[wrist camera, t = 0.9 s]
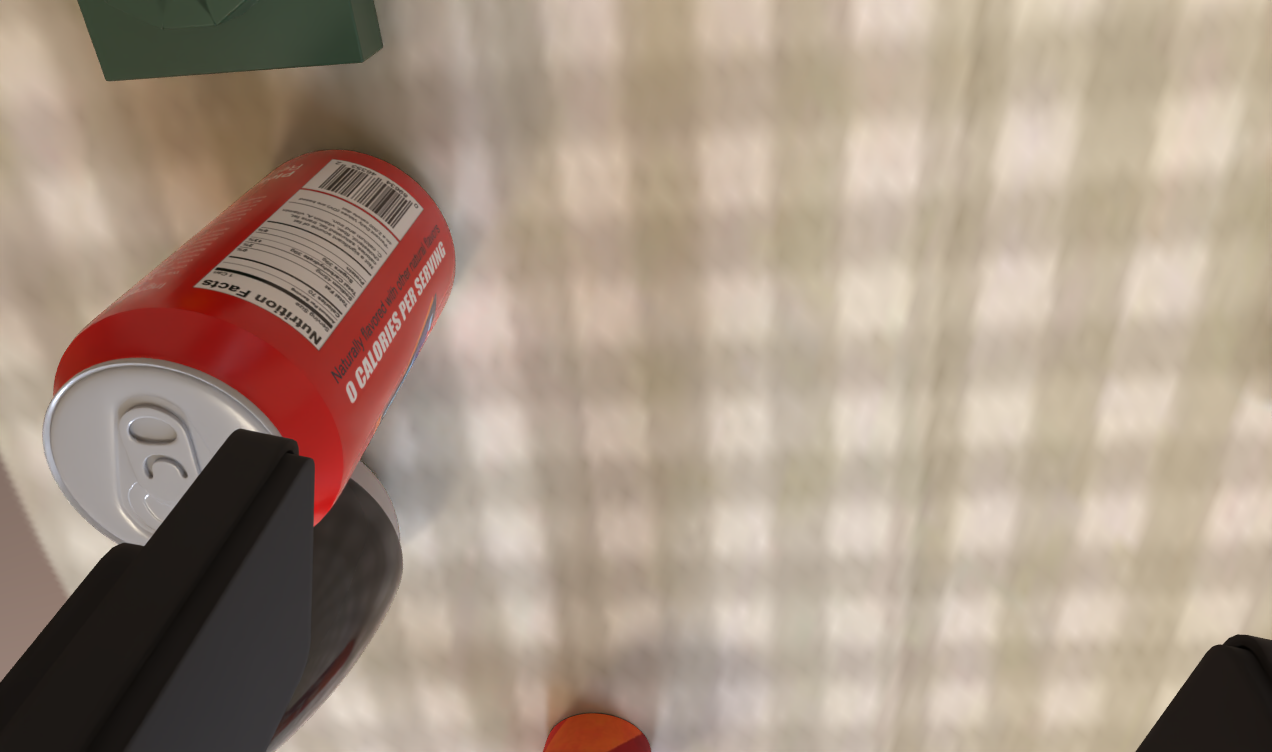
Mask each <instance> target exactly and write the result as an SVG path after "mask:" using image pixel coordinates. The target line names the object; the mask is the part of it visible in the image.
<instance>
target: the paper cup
mask: <svg viewBox="0 0 1272 752" xmlns="http://www.w3.org/2000/svg"><path fill="white" fill-rule="evenodd" d="M543 752H651V749H650V745H649V742H648V740H647V738H646V737H645V735H644V734H643V733H642V732H641V731H640V730H639V729H638V728H637V727H635V726H634V725H632V724H631V723H629V722H627V721H625V720H623V719H620V718H618V717H615V716H611V715H606V714H598V713H588V714H580V715H575V716H572V717H569V718H567V719H565V720H563V721H561V722H560V723H558V724H557V725H556V726H555V727H554V728H553V729H552V730H551V732H550V734H549V736H548V738H547V741H546V744H545V747H544V750H543Z"/></svg>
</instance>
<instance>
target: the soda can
mask: <svg viewBox="0 0 1272 752" xmlns="http://www.w3.org/2000/svg"><path fill="white" fill-rule="evenodd" d="M454 276H455V250H454V244H453V240H452V236H451V233H450V230H449V228H448V225H447V223H446V221H445V219H444V217H443V215H442V213H441V211H440V210H439V208H438V207H437V205H436V204H435V202H434V201H433V200H432V198H431V197H430V196H429V195H428V194H427V192H426V191H425V190H424V189H423V188H422V187H421V186H420V185H419V184H418V183H417V182H415V181H414V180H413V179H412V178H411V177H410V176H408V175H407V174H405V173H404V172H403V171H401V170H400V169H398V168H396V167H395V166H393V165H391V164H389V163H387V162H385V161H383V160H381V159H379V158H376V157H373V156H370V155H367V154H364V153H360V152H355V151H349V150H334V149H332V150H320V151H314V152H310V153H306V154H303V155H300V156H298V157H296V158H293V159H291V160H289V161H287V162H285V163H284V164H282V165H280V166H279V167H278V168H276V169H275V170H274V171H272V172H271V173H270V174H268V175H267V176H266V177H265V178H263V179H262V180H261V181H260V182H259V183H257V184H256V185H255V186H254V187H253V188H251V189H250V190H249V191H248V192H246V193H245V194H244V195H243V196H242V197H240V198H239V199H238V200H237V201H236V202H234V203H233V204H232V205H231V206H230V207H228V208H227V209H226V210H225V211H224V212H222V213H221V214H220V215H219V216H218V217H216V218H215V219H214V220H213V221H212V222H210V223H209V224H208V225H207V226H205V227H204V228H203V229H202V230H201V231H199V232H198V233H197V234H196V235H195V236H193V237H192V238H191V239H190V240H189V241H187V242H186V243H185V244H184V245H183V246H181V247H180V248H179V249H178V250H177V251H175V252H174V253H173V254H172V255H171V256H169V257H168V258H167V259H166V260H164V261H163V262H162V263H161V264H160V265H158V266H157V267H156V268H155V269H154V270H152V271H151V272H150V273H149V274H148V275H146V276H145V277H144V278H143V279H142V280H140V281H139V282H138V283H137V284H136V285H134V286H133V287H132V288H131V289H130V290H128V291H127V292H126V293H125V294H123V295H122V296H121V297H120V298H119V299H117V300H116V301H115V302H114V303H113V304H111V305H110V306H109V307H108V308H107V309H105V310H104V311H103V312H102V313H101V314H99V315H98V316H97V317H96V318H95V319H94V320H93V321H91V322H90V323H89V324H88V325H87V326H86V327H85V328H84V329H83V330H82V331H81V332H79V334H78V335H77V336H76V337H75V338H74V340H73V341H72V342H71V344H70V345H69V347H68V348H67V350H66V351H65V353H64V355H63V356H62V358H61V361H60V363H59V365H58V368H57V372H56V376H55V381H54V393H53V398H52V400H51V402H50V404H49V406H48V408H47V411H46V414H45V418H44V423H43V434H42V437H43V447H44V453H45V457H46V460H47V463H48V466H49V469H50V471H51V474H52V476H53V478H54V480H55V482H56V484H57V485H58V487H59V489H60V490H61V492H62V493H63V495H64V496H65V497H66V499H67V500H68V501H69V503H70V504H71V505H72V506H73V507H74V509H75V510H76V511H77V512H78V513H79V514H80V515H81V516H82V517H83V518H84V519H85V520H86V521H87V522H88V523H89V524H91V525H92V526H93V527H94V528H95V529H97V530H98V531H99V532H101V533H102V534H103V535H105V536H106V537H108V538H109V539H111V540H112V541H114V542H115V543H117V544H121V543H123V542H124V543H131V544H137V545H142V546H145V544H146V543H147V542H148V540H149V539H150V538H151V537H152V535H153V534H154V533H155V531H156V530H157V529H158V527H159V526H160V525H161V524H162V522H163V521H164V520H165V518H166V517H167V516H168V515H169V513H170V512H171V511H172V509H173V508H174V507H175V505H176V504H177V503H178V502H179V500H180V499H181V498H182V496H183V495H184V494H185V492H186V491H187V490H188V489H189V487H190V486H191V485H192V483H193V482H194V481H195V480H196V478H197V477H198V476H199V474H200V473H201V472H202V470H203V469H204V468H205V467H206V465H207V464H208V463H209V461H210V460H211V459H212V457H213V456H214V455H215V454H216V452H217V451H218V450H219V448H220V447H221V446H222V445H223V443H224V442H225V441H226V439H227V438H228V437H229V436H230V435H231V434H232V433H233V432H234V431H235V430H237V429H240V428H241V429H246V430H251V431H255V432H260V433H265V434H270V435H275V436H280V437H285V438H290V439H294V440H295V441H297V444H298V447H299V455H300V456H305V457H310V458H312V459H313V460H314V463H315V490H314V526H315V525H316V524H317V523H319V522H320V521H321V520H322V518H323V517H324V516H325V515H326V514H327V513H328V512H329V511H330V510H331V508H332V507H333V505H334V504H335V502H336V501H337V499H338V498H339V496H340V494H341V493H342V491H343V489H344V488H345V486H346V484H347V482H348V480H349V478H350V477H351V475H352V473H353V471H354V469H355V468H356V466H357V464H358V462H359V460H360V459H361V457H362V455H363V453H364V451H365V450H366V448H367V446H368V444H369V442H370V441H371V439H372V437H373V435H374V433H375V432H376V430H377V428H378V426H379V424H380V422H381V421H382V419H383V417H384V415H385V413H386V412H387V410H388V408H389V406H390V404H391V403H392V401H393V399H394V397H395V395H396V394H397V392H398V390H399V388H400V386H401V385H402V383H403V381H404V379H405V377H406V376H407V374H408V372H409V370H410V368H411V366H412V365H413V363H414V361H415V359H416V357H417V356H418V354H419V352H420V350H421V348H422V347H423V345H424V343H425V341H426V339H427V338H428V336H429V334H430V332H431V330H432V329H433V327H434V325H435V323H436V321H437V319H438V318H439V316H440V314H441V312H442V310H443V308H444V306H445V304H446V302H447V300H448V298H449V295H450V292H451V289H452V285H453V281H454Z"/></svg>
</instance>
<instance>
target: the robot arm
mask: <svg viewBox="0 0 1272 752" xmlns="http://www.w3.org/2000/svg"><path fill="white" fill-rule="evenodd" d="M314 490H315V463H314V460H313V459H312V458H310V457H305V456H300V455H299V447H298V444H297V441H295V440H294V439H290V438H285V437H280V436H275V435H270V434H265V433H260V432H255V431H251V430H246V429H241V428H240V429H237V430H235V431H234V432H233V433H232V434H231V435H230V436H229V437H228V438H227V439H226V441H225V442H224V443H223V445H222V446H221V447H220V448H219V450H218V451H217V452H216V454H215V455H214V456H213V457H212V459H211V460H210V461H209V463H208V464H207V465H206V467H205V468H204V469H203V470H202V472H201V473H200V474H199V476H198V477H197V478H196V480H195V481H194V482H193V483H192V485H191V486H190V487H189V489H188V490H187V491H186V492H185V494H184V495H183V496H182V498H181V499H180V500H179V502H178V503H177V504H176V505H175V507H174V508H173V509H172V511H171V512H170V513H169V515H168V516H167V517H166V518H165V520H164V521H163V522H162V524H161V525H160V526H159V527H158V529H157V530H156V531H155V533H154V534H153V535H152V537H151V538H150V539H149V540H148V542H147V543H146V544H145V546H142V545H137V544H131V543H124V542H123V543H121V544H119V545H117V546H115V547H113V548H112V549H111V550H110V551H109V552H108V553H107V554H106V555H105V556H104V557H103V558H101V560H100V561H99V562H98V563H97V564H96V566H95V567H94V568H93V569H92V571H91V572H90V573H89V574H88V575H87V577H86V578H85V579H84V580H83V582H82V583H81V584H80V585H79V587H78V588H77V589H76V590H75V591H74V593H73V594H72V595H71V596H70V598H69V599H68V600H67V601H66V603H65V604H64V605H63V606H62V607H61V609H60V610H59V611H58V612H57V614H56V615H55V616H54V617H53V619H52V620H51V621H50V622H49V624H48V625H47V626H46V627H45V628H44V630H43V631H42V632H41V633H40V634H39V636H38V637H37V638H36V640H35V641H34V642H33V643H32V644H31V646H30V647H29V648H28V649H27V651H26V652H25V653H24V654H23V655H22V657H21V658H20V659H19V660H18V661H17V663H16V664H15V665H14V667H13V668H12V669H11V670H10V671H9V673H8V674H7V675H6V676H5V677H4V679H3V680H2V681H1V682H0V752H266V750H267V748H268V746H269V744H270V742H271V739H272V737H273V735H274V733H275V731H276V729H277V727H278V725H279V723H280V721H281V719H282V717H283V715H284V712H285V710H286V708H287V706H288V704H289V702H290V700H291V698H292V696H293V694H294V692H295V690H296V687H297V685H298V683H299V681H300V679H301V677H302V674H303V672H304V669H305V666H306V663H307V659H308V655H309V650H310V643H311V610H312V570H313V530H314ZM1136 752H1272V640H1268V639H1263V638H1259V637H1254V636H1249V635H1235V636H1233V637H1231V638H1229V639H1228V640H1227V641H1226V642H1225V643H1224V644H1223V645H1216V646H1213V647H1212V648H1211V649H1210V650H1209V651H1208V652H1207V653H1206V654H1205V656H1204V657H1203V658H1202V660H1201V661H1200V662H1199V664H1198V665H1197V667H1196V668H1195V669H1194V671H1193V672H1192V674H1191V675H1190V676H1189V678H1188V679H1187V681H1186V682H1185V683H1184V685H1183V686H1182V688H1181V689H1180V690H1179V692H1178V693H1177V695H1176V696H1175V697H1174V699H1173V700H1172V702H1171V703H1170V704H1169V706H1168V707H1167V708H1166V710H1165V711H1164V713H1163V714H1162V715H1161V717H1160V718H1159V720H1158V721H1157V722H1156V724H1155V725H1154V727H1153V728H1152V729H1151V731H1150V732H1149V734H1148V735H1147V736H1146V738H1145V739H1144V741H1143V742H1142V743H1141V745H1140V746H1139V748H1138V749H1137V750H1136Z"/></svg>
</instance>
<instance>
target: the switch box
mask: <svg viewBox="0 0 1272 752" xmlns="http://www.w3.org/2000/svg"><path fill="white" fill-rule="evenodd" d="M77 1H78V4H79V6H80V9H81V12H82V15H83V18H84V20H85V23H86V26H87V29H88V32H89V34H90V37H91V40H92V43H93V46H94V48H95V51H96V54H97V57H98V60H99V62H100V65H101V68H102V71H103V74H104V77H105V79H106V81H120V80H134V79H147V78H161V77H174V76H188V75H201V74H215V73H228V72H242V71H255V70H269V69H282V68H296V67H309V66H323V65H337V64H350V63H362V62H364V61H365V60H367V59H368V58H369V57H371V56H372V55H374V54H375V53H376V52H378V51H379V50H380V49H382V48H383V43H382V39H381V34H380V29H379V24H378V20H377V15H376V10H375V6H374V1H373V0H77Z"/></svg>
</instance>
